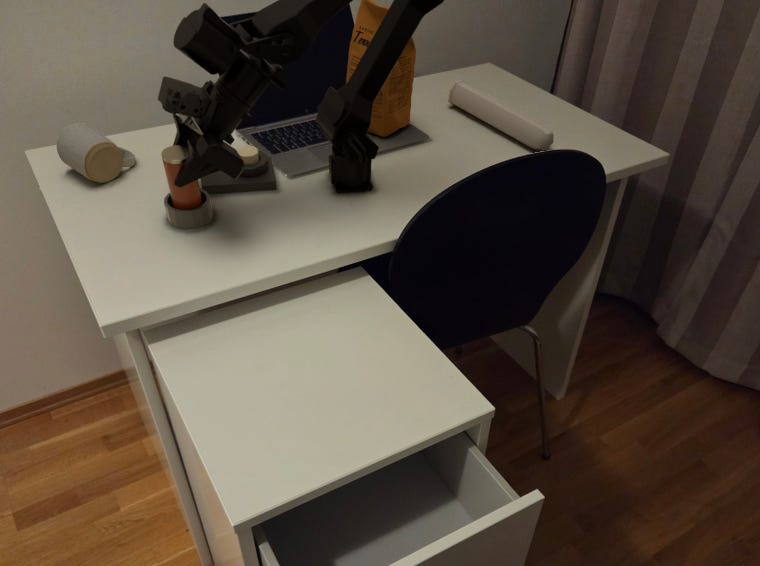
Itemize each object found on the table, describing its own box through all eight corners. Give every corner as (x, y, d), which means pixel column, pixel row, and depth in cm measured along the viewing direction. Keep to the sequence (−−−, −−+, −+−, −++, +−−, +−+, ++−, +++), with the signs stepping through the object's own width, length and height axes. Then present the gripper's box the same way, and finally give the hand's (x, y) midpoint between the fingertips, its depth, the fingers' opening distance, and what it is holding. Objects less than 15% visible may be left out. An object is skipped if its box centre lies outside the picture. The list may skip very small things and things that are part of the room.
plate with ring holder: (271, 165, 113) (270, 147, 110) (276, 191, 107) (274, 172, 105) (201, 170, 110) (198, 151, 108) (203, 196, 105) (199, 177, 102)
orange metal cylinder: (203, 202, 101) (192, 144, 94) (204, 218, 99) (192, 159, 91) (174, 204, 101) (161, 145, 93) (174, 220, 98) (160, 161, 90)
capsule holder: (212, 204, 103) (209, 185, 101) (213, 229, 99) (210, 209, 96) (168, 207, 102) (164, 188, 100) (168, 232, 98) (163, 213, 95)
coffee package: (374, 104, 131) (378, -15, 115) (417, 127, 126) (427, 6, 110) (337, 117, 126) (336, -4, 110) (380, 142, 121) (385, 18, 105)
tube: (563, 130, 120) (469, 80, 132) (548, 128, 117) (453, 78, 129) (551, 157, 123) (460, 106, 135) (536, 156, 120) (444, 104, 131)
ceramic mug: (93, 192, 104) (79, 148, 98) (63, 173, 107) (49, 130, 101) (148, 168, 110) (138, 126, 104) (118, 151, 113) (107, 109, 107)
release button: (258, 154, 109) (257, 144, 108) (259, 165, 107) (258, 155, 105) (236, 155, 108) (235, 146, 107) (238, 166, 106) (236, 157, 105)
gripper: (170, 31, 90) (109, 119, 94) (208, 86, 79) (137, 183, 83) (232, 79, 98) (174, 158, 102) (274, 134, 87) (207, 220, 91)
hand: (172, 177), depth 95 cm, fingers closed on orange metal cylinder, 4 cm apart
